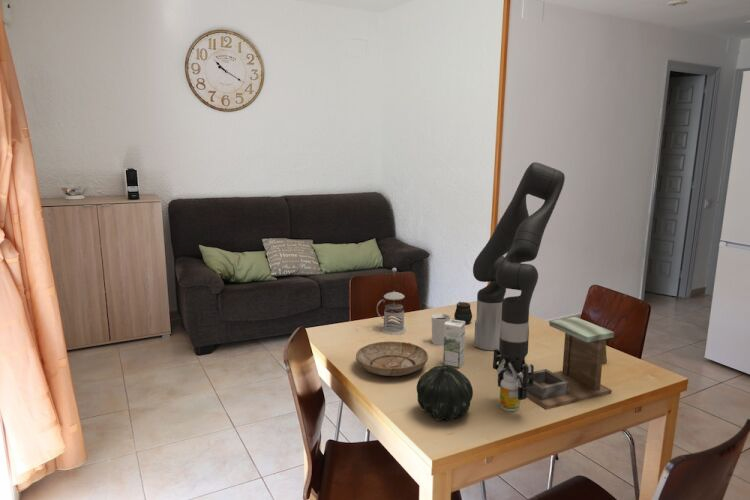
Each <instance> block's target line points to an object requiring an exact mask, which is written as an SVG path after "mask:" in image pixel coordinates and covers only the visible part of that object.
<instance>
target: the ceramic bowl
mask: <svg viewBox="0 0 750 500" xmlns="http://www.w3.org/2000/svg"><path fill="white" fill-rule="evenodd" d="M358 349H359V350H357V351H356V354H355V360H356V362H357V364H358V365H359V366H360V367H361V368H363V369H364V370H365V371H368V372H370V373H371V374H374V375H378V376H379V375H380V376H384V377H401V376H407V375H408V374H412V373H414V372H417V371H418V370H420V369H422V367H424V366H425V365H426V363H427V362H428V360H429V354H428V352H427V350H425V348H423V347H421V346H419V345H416V344H413V343H410V342H404V341H402V342H401V341H380V342H374V343H373V342H372V343H371V344H367V345H365V346H363V347H361V348H358Z"/></svg>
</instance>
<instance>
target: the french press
mask: <svg viewBox="0 0 750 500" xmlns="http://www.w3.org/2000/svg"><path fill="white" fill-rule="evenodd" d="M391 271H392V272H393V275H396V274H395V272H397V271H398V270H397V268H396V267H393V268H391ZM383 298H384V299H383ZM383 298H382V299H380V300H379V301H378V302H377V305H376V313H377V315H378V316H379V317H380V318H381V319H383V328H381V332H382V333H384V334H385V335H386V334H387V335H393V336H394V335H401V334H405V333H406V332H407V329H406V327H405V309H404V305H402V304H400V303H388V304H386V305H384V312H383V313H384V316H382V315H381V314H380V312H379V309H378V307H379V305H380V304H381V302H383V304H385V301H386V300H387V301H388V300H389V301H399V300H403V299H404V298H405V295H404V294H403V293H401V292H398V291H391V292H387V293H385V294H384V295H383Z"/></svg>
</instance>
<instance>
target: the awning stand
mask: <svg viewBox="0 0 750 500" xmlns="http://www.w3.org/2000/svg"><path fill="white" fill-rule="evenodd" d="M548 326H549V327H551V328H553V329H556V330H558V331H559V332H563V333H564V345H563V358H562V359H563V361H562V370H560V371H555V372H553V371H550V370H549V369H546V368H545V369H539V370H534V383H533V386H532V387H528V388H527V397H526V398H528V399H529V400H531V401H533V402H534V403H536V404H537V405H539V406H540V407H542V408H544V409H545V410H549V409H554V408H557V407H561V406H565V405H569V404H572V403H573V404H574V403H577V402H581V401H585V400H590V399H593V398H597V397H601V396H604V395H609V394H612V391H613V389H611V388H609V387H607V386H605V385H603V384H601V383H602V382H601V381H602V380H601V379H602V370H603V364H602V360H603V349H604V339H606V340H608V339H612V338H614V337H615V332H614V331H612V330H611V329H608V328H605V327H602V326H600V325H597V324H594V323H592V322H589V321H587V320H584V319H582V318H579V317H577V316H572V317H566V318H559V319H555V320H554V319H553V320H549V325H548ZM519 375H522V373H521V374H520V373H519ZM520 379H521V381H522V382H523V379H522V378H520ZM528 382H529V379H528Z"/></svg>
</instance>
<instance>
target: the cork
mask: <svg viewBox="0 0 750 500" xmlns="http://www.w3.org/2000/svg"><path fill="white" fill-rule="evenodd" d="M607 357H608V355H607V339H604V349H603V360H602V365H605V364H607V363H608V360H607V359H608V358H607Z"/></svg>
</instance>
